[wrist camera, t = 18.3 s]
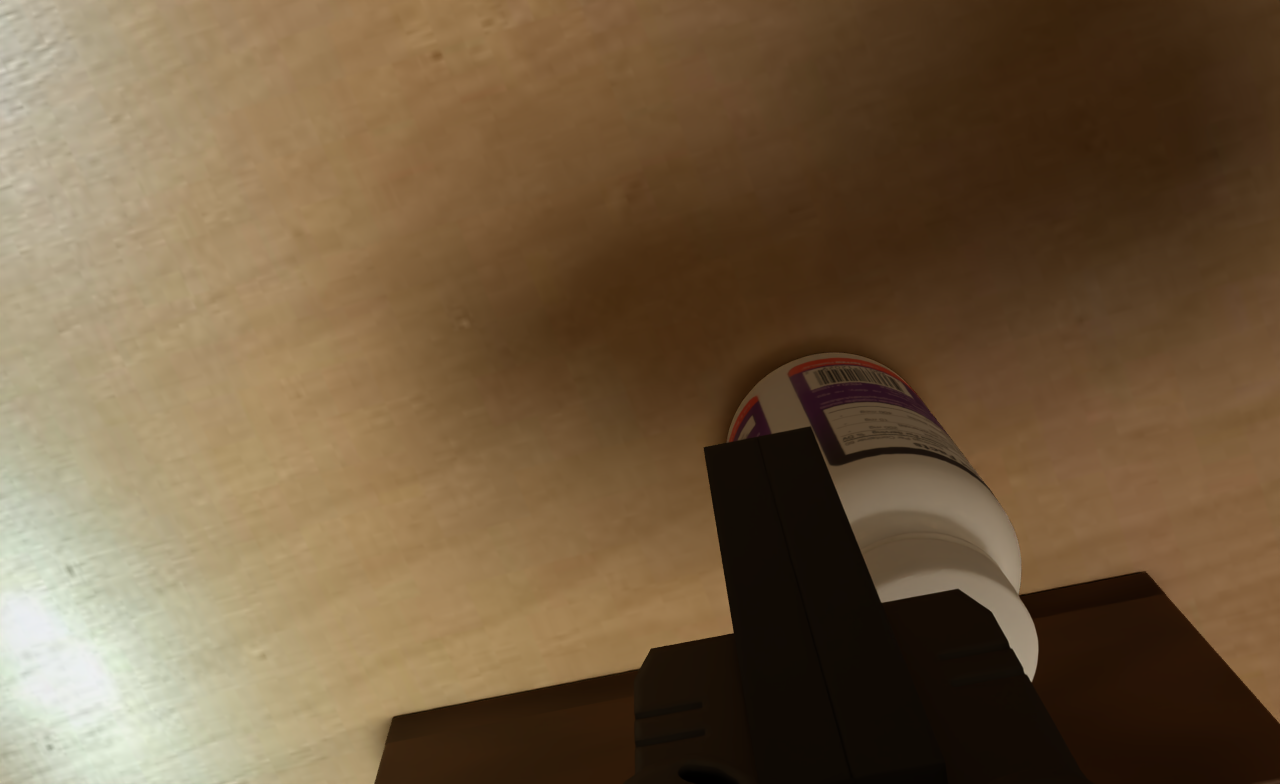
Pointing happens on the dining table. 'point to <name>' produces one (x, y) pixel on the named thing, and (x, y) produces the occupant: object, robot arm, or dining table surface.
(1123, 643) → the brown long rectangular block
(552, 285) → the dining table surface
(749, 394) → the pill bottle
